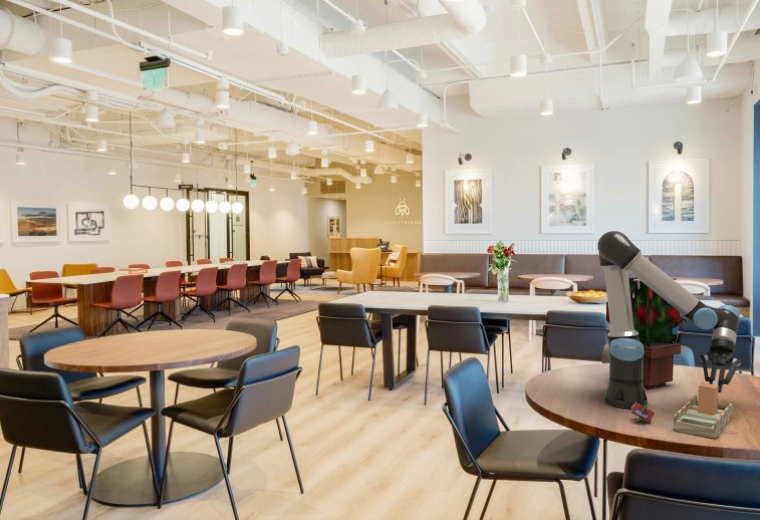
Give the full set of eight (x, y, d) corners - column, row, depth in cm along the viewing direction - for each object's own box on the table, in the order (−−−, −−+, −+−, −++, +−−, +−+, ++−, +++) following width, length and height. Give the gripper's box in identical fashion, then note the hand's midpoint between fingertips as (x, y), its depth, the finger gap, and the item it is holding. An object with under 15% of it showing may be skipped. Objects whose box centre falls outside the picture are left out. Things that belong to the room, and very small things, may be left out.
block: (714, 414, 194) (715, 388, 194) (697, 411, 197) (698, 385, 197) (717, 411, 198) (718, 385, 198) (701, 408, 201) (701, 382, 201)
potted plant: (684, 386, 242) (687, 278, 240) (651, 393, 231) (654, 280, 229) (637, 375, 261) (639, 275, 259) (604, 381, 250) (606, 277, 248)
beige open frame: (715, 439, 180) (716, 423, 180) (673, 430, 188) (673, 415, 187) (733, 415, 203) (733, 401, 203) (694, 409, 210) (695, 395, 210)
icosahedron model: (662, 416, 195) (647, 395, 198) (656, 421, 190) (641, 399, 193) (644, 425, 199) (630, 404, 202) (637, 430, 194) (623, 408, 197)
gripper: (745, 351, 210) (736, 408, 198) (704, 346, 218) (693, 401, 206) (743, 339, 205) (734, 396, 193) (701, 335, 214) (690, 390, 202)
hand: (713, 399), depth 200 cm, fingers closed
